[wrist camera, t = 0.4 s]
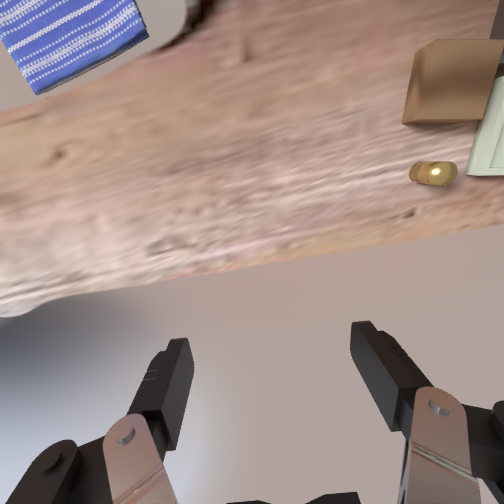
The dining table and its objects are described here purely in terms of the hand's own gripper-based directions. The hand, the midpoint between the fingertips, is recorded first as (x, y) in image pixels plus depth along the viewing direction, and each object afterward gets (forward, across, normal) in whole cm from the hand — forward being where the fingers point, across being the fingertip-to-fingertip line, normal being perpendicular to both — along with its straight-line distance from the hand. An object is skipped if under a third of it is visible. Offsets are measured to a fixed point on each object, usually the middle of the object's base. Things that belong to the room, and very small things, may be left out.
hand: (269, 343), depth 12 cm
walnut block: (+28, -26, -14) cm, 41 cm away
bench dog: (+28, -25, -4) cm, 38 cm away
